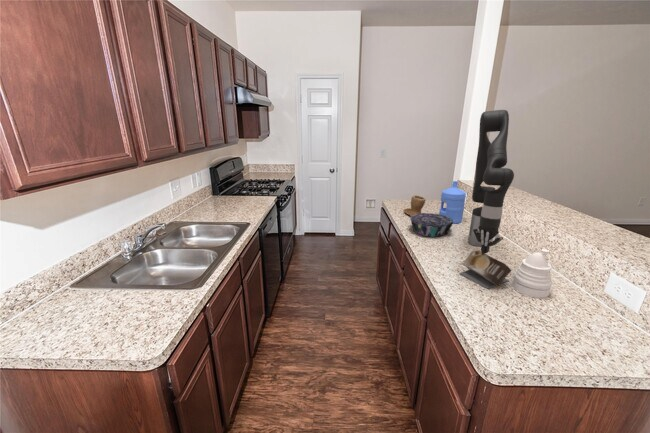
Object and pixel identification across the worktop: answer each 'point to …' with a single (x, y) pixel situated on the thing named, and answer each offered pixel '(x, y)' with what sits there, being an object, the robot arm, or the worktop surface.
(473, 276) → the rubber mat
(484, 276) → the coffee box
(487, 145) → the robot arm
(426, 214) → the decorative bowl
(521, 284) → the honey pot
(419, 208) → the brown boot
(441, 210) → the water jug
